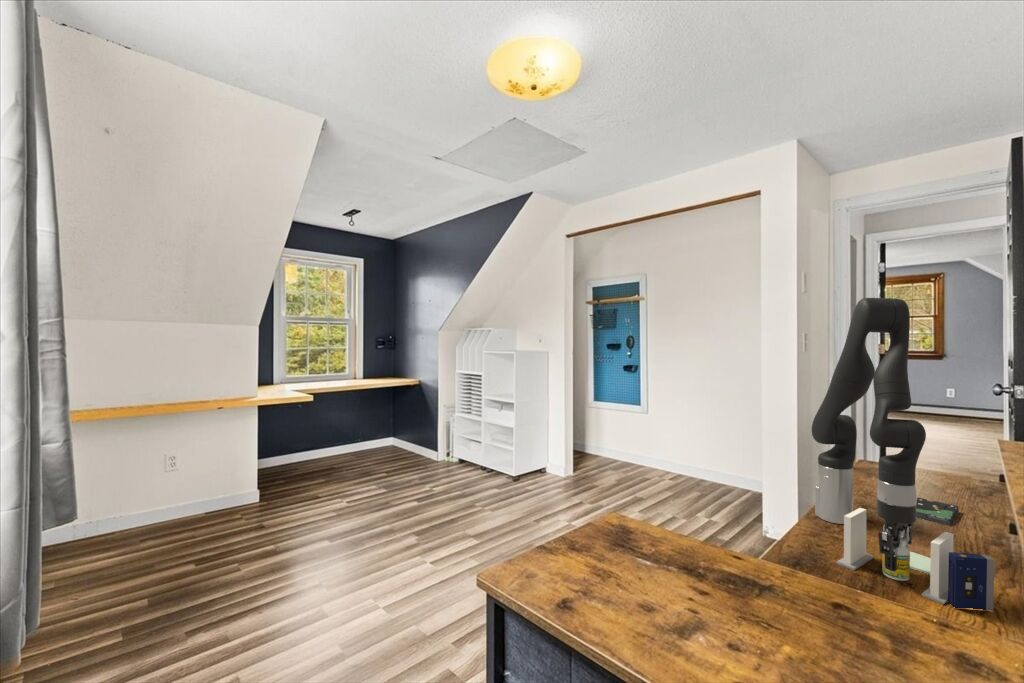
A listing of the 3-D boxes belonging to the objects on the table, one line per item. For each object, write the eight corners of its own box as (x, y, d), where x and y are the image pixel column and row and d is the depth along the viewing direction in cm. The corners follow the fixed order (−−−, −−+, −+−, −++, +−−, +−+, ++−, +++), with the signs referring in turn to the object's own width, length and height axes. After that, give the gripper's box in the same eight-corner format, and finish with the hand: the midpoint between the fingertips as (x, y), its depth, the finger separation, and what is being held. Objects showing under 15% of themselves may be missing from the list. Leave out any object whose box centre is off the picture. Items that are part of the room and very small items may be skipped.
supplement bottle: (893, 568, 120) (893, 531, 119) (915, 579, 114) (916, 541, 114) (876, 571, 118) (876, 534, 118) (898, 583, 113) (898, 544, 113)
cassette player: (954, 609, 103) (955, 555, 102) (947, 602, 105) (948, 550, 105) (994, 612, 101) (995, 558, 101) (986, 606, 104) (987, 553, 103)
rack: (836, 563, 123) (836, 515, 122) (856, 551, 128) (856, 505, 128) (944, 605, 104) (945, 548, 104) (961, 588, 110) (962, 534, 110)
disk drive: (916, 505, 159) (907, 517, 150) (916, 497, 159) (907, 508, 150) (958, 514, 151) (951, 527, 142) (958, 505, 151) (951, 518, 142)
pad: (895, 563, 122) (895, 560, 122) (909, 553, 127) (909, 551, 127) (940, 578, 115) (940, 576, 115) (953, 567, 119) (953, 565, 119)
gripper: (890, 488, 122) (889, 551, 123) (865, 501, 115) (865, 568, 116) (927, 497, 116) (926, 564, 117) (903, 511, 109) (902, 582, 109)
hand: (895, 565), depth 116 cm, fingers closed on supplement bottle, 5 cm apart
